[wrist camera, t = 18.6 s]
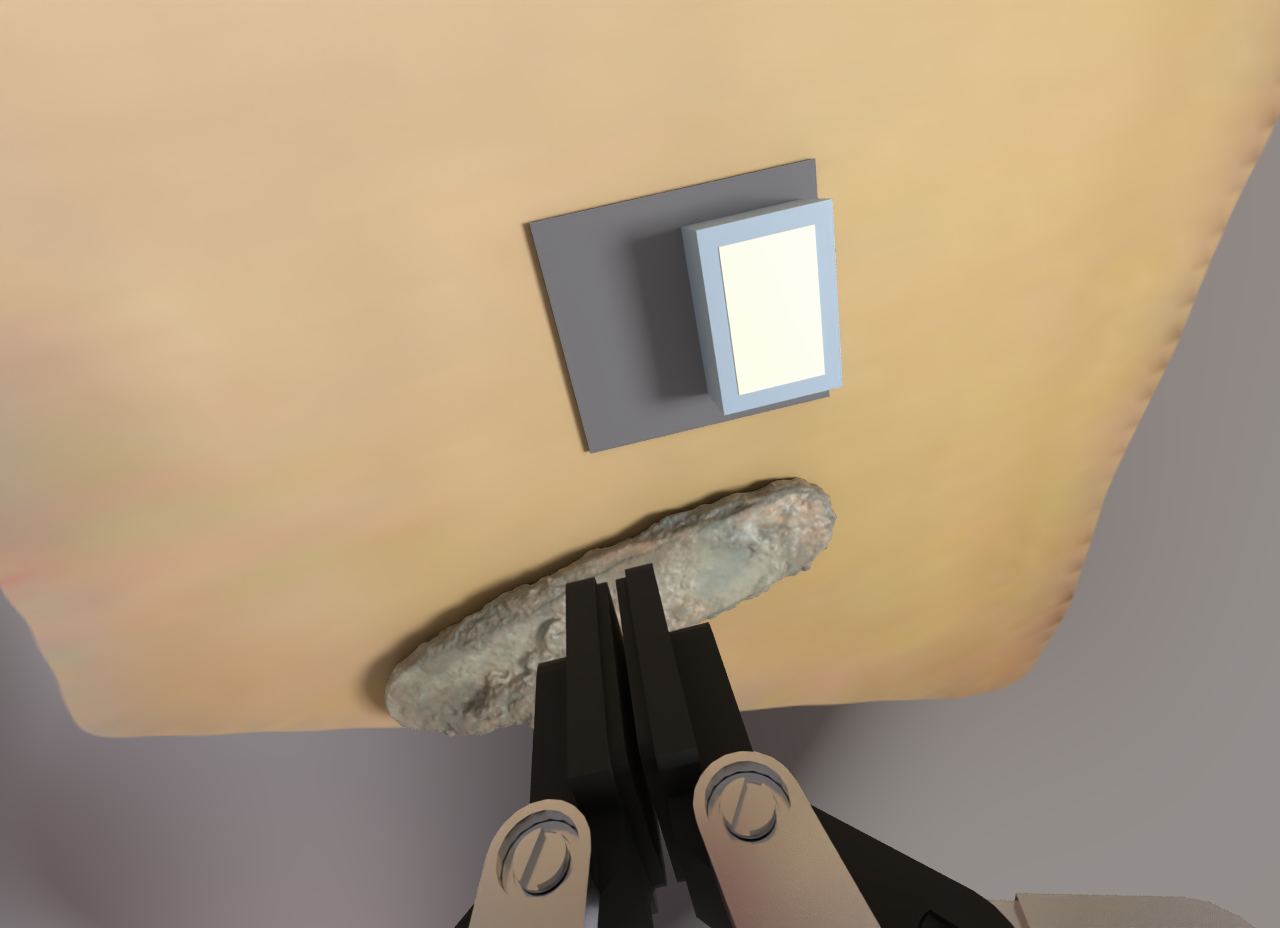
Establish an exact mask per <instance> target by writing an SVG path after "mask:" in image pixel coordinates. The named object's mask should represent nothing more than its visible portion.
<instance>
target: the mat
mask: <svg viewBox="0 0 1280 928" xmlns="http://www.w3.org/2000/svg"><path fill="white" fill-rule="evenodd" d="M798 199H818V198H817V181H816V164H815V159H809V160H805V161H801V162H796V163H792V164H787V165H783V166H779V167H774V168H770V169H765V170H761V171H756V172H752V173H748V174H743V175H739V176H734V177H730V178H726V179H721V180H717V181H712V182H708V183H704V184H699V185H695V186H690V187H686V188H681V189H677V190H673V191H668V192H664V193H659V194H655V195H651V196H646V197H642V198H637V199H633V200H628V201H624V202H620V203H615V204H611V205H606V206H602V207H598V208H593V209H589V210H584V211H580V212H576V213H571V214H567V215H562V216H558V217H553V218H549V219H545V220H540V221H536V222H531V223H529V224H530V228H531V232H532V235H533V239H534V243H535V247H536V250H537V254H538V258H539V262H540V266H541V269H542V273H543V277H544V281H545V284H546V288H547V292H548V296H549V299H550V303H551V307H552V311H553V314H554V318H555V322H556V326H557V330H558V333H559V337H560V341H561V345H562V348H563V352H564V356H565V360H566V363H567V367H568V371H569V375H570V378H571V382H572V386H573V390H574V394H575V397H576V401H577V405H578V409H579V412H580V416H581V420H582V424H583V427H584V431H585V435H586V439H587V442H588V446H589V450H590V454H591V453H595V452H599V451H603V450H607V449H612V448H616V447H620V446H624V445H628V444H632V443H637V442H641V441H645V440H649V439H653V438H658V437H662V436H666V435H670V434H674V433H678V432H683V431H687V430H691V429H695V428H699V427H704V426H708V425H712V424H716V423H720V422H724V421H729V420H733V419H737V418H741V417H745V416H750V415H754V414H758V413H762V412H766V411H770V410H775V409H779V408H783V407H787V406H791V405H796V404H800V403H804V402H808V401H812V400H816V399H821V398H825V397H829V390H827V391H822V392H818V393H814V394H810V395H806V396H802V397H798V398H794V399H790V400H786V401H781V402H777V403H773V404H769V405H765V406H761V407H757V408H753V409H749V410H745V411H741V412H736V413H732V414H728V415H724V414H723V413H722V412H721V410H720V409H719V408H718V406H717V405H716V404H715V402H714V401H713V400H712V398H711V397H710V396H709V395H708V391H707V384H706V378H705V372H704V366H703V360H702V354H701V348H700V342H699V336H698V329H697V323H696V317H695V311H694V305H693V299H692V293H691V287H690V281H689V274H688V268H687V262H686V256H685V250H684V244H683V238H682V232H681V227H683V226H687V225H691V224H696V223H700V222H704V221H708V220H713V219H717V218H721V217H725V216H730V215H734V214H738V213H742V212H747V211H751V210H755V209H760V208H764V207H768V206H772V205H777V204H781V203H785V202H789V201H794V200H798Z"/></svg>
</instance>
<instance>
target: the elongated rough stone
mask: <svg viewBox="0 0 1280 928" xmlns="http://www.w3.org/2000/svg"><path fill="white" fill-rule="evenodd" d="M836 518H837V516H836V515H835V513H834V511H833V510H832V508H831V502H830V496H829V495H828V494H826V493H825V492H824V491H823V490H822V488H820V487H819V486H818V485H816V484H810V483H808V482H807V481H806V480H804V479H801V478H793V479H791V480H776V481H773V482H771V483H769V484H768V485H767V486H765V487H763V488H760V489H758V490H755V491H752V492H744V493H733V494H731V495H729V496H727V497H723V498H722V499H720V500H719V501H716V502H715V503H712V504H702V505H700V506H698V507H697V508H695V509H693V510H688V511H684V512H681V513H676V514H672V515H669V516H666V517H664V518H663V519H661V520H660V522H658V523H653V524H652V525H651V527H650V528H649V529H648V530H646V531H643V532H641V534H640V535H637V536H636V537H634V538H631V537H629V538H627V539H625V540H624V541H621V542H619V543H617V544H616V545H614V546H609V547H604V548H602V549H600V548H596V549H592V550H589V551H587V553H585V554H584V555H583V557H581V558H580V559H579V560H577V561H575V562H573V563H571V564H570V565H569V566H567V567H564V568H562V569H559V570H558V571H557V572H555V573H553V574H552V575H550V576H546V577H542V578H540V579H539V580H538V582H536V583H535V584H532V585H528V584H523V585H520V586H518V587H516V588H515V589H514V590H513V591H508V592H505V593H502V594H501V595H500V596H499V597H498V598H496V599H494V600H492V601H491V602H489V603H487V604H486V605H484V607H483V609H482V610H480V611H478V612H476V613H474V614H471V615H469V616H467V617H465V618H464V619H463V620H462V622H459V623H458V624H453V625H451V626H448V627H447V628H446V629H444V630H442V631H440V632H439V635H438V636H437V637H434V638H433V639H432V640H431V641H429V642H423V643H422V644H420V645H419V646H418V648H416V650H414V651H413V652H412V653H411V654H410V655H409V656H408V657H407V658H405V659H404V660H403V661H402V662H399V663H398V664H397V665H396V666H395V667H394V669H393V671H392V673H391V675H390V678H389V679H388V680H387V682H386V685H385V706H386V709H387V710H388V712H389V714H390V715H391V716H392V718H393V719H395V720H396V721H397V722H398V723H399V724H400V725H401V726H403V727H407V728H409V729H412V730H418V731H438V732H440V731H442V732H444V733H445V734H446V735H448V736H449V737H452V736H454V735H456V734H461V735H465V734H468V735H470V734H473V735H479V736H480V735H483V734H485V733H489V732H492V731H493V730H494V729H496V728H498V727H503V728H504V727H507V726H510V725H516V724H518V725H520V724H522V723H524V722H525V721H527V722H528V725H529V726H530V727H531V728H533V729H534V713H535V693H536V674H537V667H538V665H539V663H543V662H547V661H551V660H555V659H560V658H564V657H566V595H565V587H566V583H570V582H574V581H578V580H582V579H587V578H591V577H595V579H596V582H597V584H599V583H603V582H607V583H608V586H609V590H610V593H611V597H612V600H613V604H614V607H615V611H616V614H617V618H618V621H619V625H620V628H621V632H622V626H621V618H620V611H619V604H618V596H617V589H616V581H615V580H616V579H620V578H624V577H626V575H625V569H628V568H632V567H636V566H641V565H645V564H649V563H652V564H653V568H654V572H655V576H656V581H657V585H658V589H659V593H660V597H661V601H662V605H663V610H664V614H665V618H666V622H667V626H668V630H669V632H670V631H674V630H679V629H683V628H687V627H691V626H693V625H694V624H697V623H700V622H701V621H704V620H706V619H711V618H715V617H717V616H718V615H719V614H720V613H722V612H724V611H727V610H731V609H732V608H735V607H736V606H737V604H739V603H740V602H741V601H743V600H748V599H753V598H754V597H757V596H759V595H760V594H761V593H763V592H767V591H768V590H769V589H770V587H771V586H772V585H773V584H774V583H775V582H777V581H779V580H781V579H783V578H784V577H786V576H794V575H797V574H798V573H799V572H801V571H807V570H809V569H810V568H811V562H812V561H813V560H814V559H815V558H816V557H817V556H818V555H819V553H820V552H821V551H823V550H824V549H827V547H828V543H829V542H830V540H831V539H832V531H833V527H834V525H835V520H836ZM622 635H623V633H622Z"/></svg>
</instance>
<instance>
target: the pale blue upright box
mask: <svg viewBox="0 0 1280 928" xmlns="http://www.w3.org/2000/svg"><path fill="white" fill-rule="evenodd" d="M681 232H682V238H683V244H684V250H685V256H686V262H687V268H688V274H689V281H690V287H691V293H692V299H693V305H694V311H695V317H696V323H697V329H698V336H699V342H700V348H701V354H702V360H703V366H704V372H705V378H706V384H707V391H708V395H709V396H710V397H711V398H712V400H713V401H714V402H715V404H716V405H717V406H718V408H719V409H720V410H721V412H722V413H723V414H724V415H728V414H732V413H736V412H741V411H745V410H749V409H753V408H757V407H761V406H765V405H769V404H773V403H777V402H781V401H786V400H790V399H794V398H798V397H802V396H806V395H810V394H814V393H818V392H822V391H827V390H831V389H835V388H839V387H842V369H841V350H840V332H839V314H838V295H837V277H836V259H835V241H834V222H833V204H832V199H798V200H794V201H789V202H785V203H781V204H777V205H772V206H768V207H764V208H760V209H755V210H751V211H747V212H742V213H738V214H734V215H730V216H725V217H721V218H717V219H713V220H708V221H704V222H700V223H696V224H691V225H687V226H683V227H681Z"/></svg>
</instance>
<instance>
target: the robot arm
mask: <svg viewBox="0 0 1280 928" xmlns="http://www.w3.org/2000/svg"><path fill="white" fill-rule="evenodd" d="M625 575H626V577H624V578H620V579H616V580H615V581H616V589H617V596H618V604H619V611H620V618H621V626H622V632H621V628H620V625H619V621H618V618H617V614H616V611H615V607H614V604H613V600H612V597H611V593H610V590H609V586H608V583H607V582H603V583H599V584H597V582H596V579H595V577H591V578H587V579H582V580H578V581H574V582H570V583H566V587H565V595H566V657H564V658H560V659H555V660H551V661H547V662H543V663H539V665H538V667H537V674H536V693H535V713H534V733H533V752H532V771H531V791H530V804H529V805H528V806H526V807H524V808H522V809H521V810H519V811H517V812H516V813H515V814H514V815H513V816H512V817H510V818H509V819H508V820H507V821H506V822H505V823H504V824H503V826H502V827H501V829H500V830H499V831H498V833H497V834H496V836H495V837H494V839H493V840H492V843H491V845H490V848H489V851H488V853H487V856H486V859H485V863H484V867H483V872H482V876H481V880H480V884H479V888H478V892H477V896H476V900H475V903H474V905H473V906H472V907H471V908H470V910H469V911H468V912H467V913H466V914H465V916H464V917H463V918H462V919H461V920H460V922H459V923H458V924H457V925H456V926H455V928H653V920H652V914H654V913H658V906H657V898H656V890H655V888H659V887H663V886H667V878H666V871H665V864H664V857H663V851H662V844H661V838H660V831H659V825H658V820H659V824H660V827H661V830H662V833H663V837H664V840H665V843H666V847H667V850H668V853H669V856H670V860H671V863H672V866H673V869H674V873H675V876H676V879H677V882H683V881H686V883H687V886H688V890H689V893H690V896H691V900H692V903H693V907H694V910H695V913H696V916H697V918H699V919H700V920H701V921H703V922H704V923H706V924H707V925H708V926H709V927H711V928H1255V927H1253V926H1252V925H1251V924H1249V923H1248V922H1246V921H1245V920H1244V919H1242V918H1241V917H1240V916H1238V915H1236V914H1234V913H1232V912H1230V911H1228V910H1226V909H1223V908H1221V907H1219V906H1217V905H1215V904H1213V903H1211V902H1207V901H1201V900H1197V899H1191V898H1186V897H1162V896H1159V897H1158V896H1117V895H1114V896H1113V895H1072V894H1071V895H1069V894H1028V893H1023V894H1022V893H1016V895H1015V901H1006V900H986V899H984V898H983V897H982V896H980V895H979V894H977V893H976V892H974V891H973V890H971V889H969V888H967V887H965V886H963V885H962V884H960V883H958V882H956V881H954V880H952V879H950V878H948V877H946V876H945V875H942V874H941V873H939V872H937V871H935V870H933V869H931V868H929V867H928V866H925V865H924V864H922V863H920V862H918V861H916V860H914V859H912V858H910V857H909V856H907V855H905V854H903V853H901V852H899V851H897V850H895V849H893V848H892V847H890V846H888V845H886V844H884V843H882V842H880V841H878V840H876V839H874V838H873V837H871V836H869V835H867V834H865V833H863V832H861V831H859V830H857V829H855V828H854V827H852V826H850V825H848V824H846V823H844V822H842V821H840V820H839V819H837V818H835V817H833V816H831V815H829V814H827V813H825V812H823V811H822V810H820V809H817V808H816V807H814V806H812V805H810V804H809V802H808V800H807V799H806V797H805V795H804V794H803V792H802V790H801V788H800V787H799V785H798V783H797V781H796V780H795V778H794V777H793V776H792V775H791V773H790V772H789V771H788V770H787V768H786V767H785V766H784V765H782V764H781V763H779V762H778V761H776V760H775V759H773V758H772V757H770V756H766V755H764V754H761V753H758V752H753V750H752V747H751V744H750V741H749V738H748V735H747V732H746V729H745V726H744V723H743V721H742V718H741V715H740V712H739V709H738V706H737V703H736V700H735V697H734V694H733V691H732V688H731V685H730V682H729V679H728V676H727V673H726V670H725V668H724V665H723V662H722V659H721V656H720V653H719V650H718V647H717V644H716V641H715V638H714V635H713V632H712V629H711V627H710V624H709V622H707V623H703V624H699V625H695V626H691V627H687V628H683V629H679V630H674V631H670V632H669V630H668V626H667V622H666V618H665V614H664V610H663V605H662V601H661V597H660V593H659V589H658V585H657V581H656V576H655V572H654V568H653V564H652V563H649V564H645V565H641V566H636V567H632V568H628V569H625ZM622 633H623V635H622ZM657 817H658V818H657Z"/></svg>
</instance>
